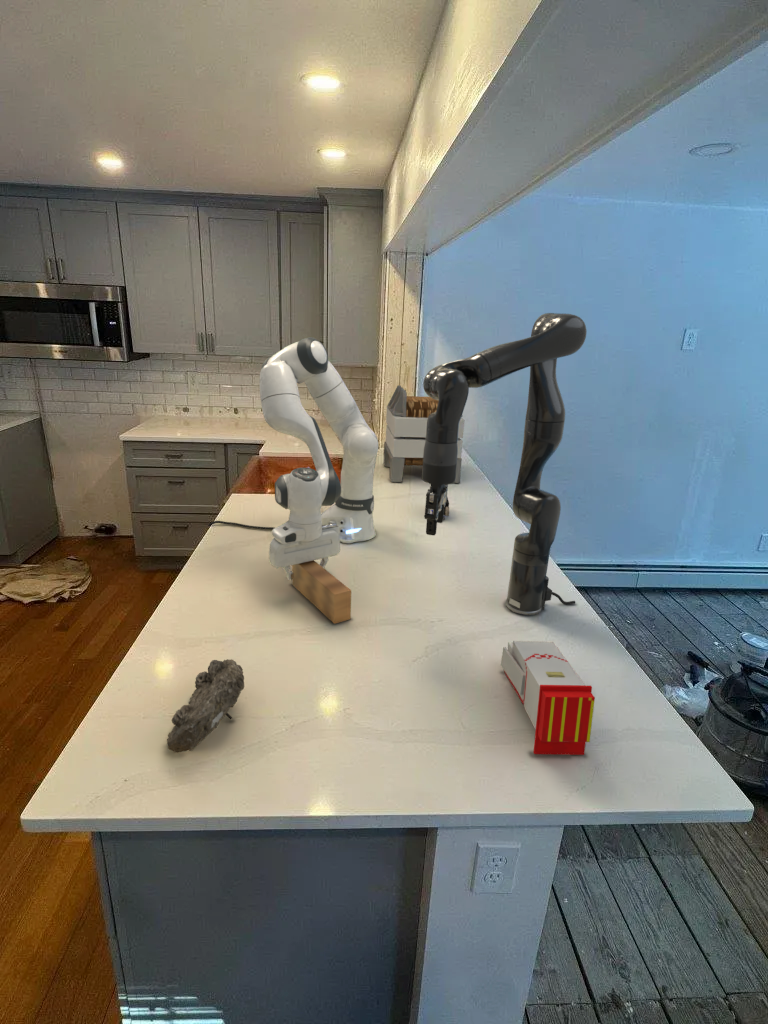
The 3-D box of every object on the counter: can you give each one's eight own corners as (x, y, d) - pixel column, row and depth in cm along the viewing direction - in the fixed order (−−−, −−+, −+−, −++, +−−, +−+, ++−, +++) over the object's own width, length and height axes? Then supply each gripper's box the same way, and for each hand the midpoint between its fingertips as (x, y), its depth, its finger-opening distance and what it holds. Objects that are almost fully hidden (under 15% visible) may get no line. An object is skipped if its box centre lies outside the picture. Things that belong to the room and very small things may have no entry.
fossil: (192, 660, 117) (244, 628, 112) (224, 691, 120) (276, 661, 115) (142, 746, 98) (202, 712, 93) (182, 779, 101) (242, 748, 96)
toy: (549, 624, 127) (604, 693, 98) (544, 678, 130) (596, 762, 100) (496, 622, 127) (535, 692, 97) (491, 677, 129) (528, 761, 100)
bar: (292, 584, 160) (291, 558, 157) (307, 581, 163) (307, 554, 160) (334, 624, 142) (334, 594, 139) (350, 619, 144) (351, 590, 141)
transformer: (382, 463, 289) (386, 382, 275) (445, 464, 293) (451, 384, 279) (390, 482, 257) (394, 392, 243) (460, 483, 261) (468, 394, 247)
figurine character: (449, 525, 213) (445, 507, 227) (451, 507, 210) (447, 490, 224) (431, 524, 213) (428, 507, 227) (433, 506, 210) (430, 490, 223)
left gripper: (333, 518, 161) (333, 563, 165) (265, 531, 150) (267, 578, 154) (344, 525, 156) (343, 571, 160) (275, 539, 145) (276, 587, 149)
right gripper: (451, 470, 118) (445, 541, 124) (461, 454, 131) (455, 520, 137) (416, 466, 120) (411, 536, 126) (429, 451, 133) (425, 516, 139)
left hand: (305, 574), depth 157 cm, fingers open, 8 cm apart
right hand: (434, 528), depth 131 cm, fingers open, 8 cm apart
